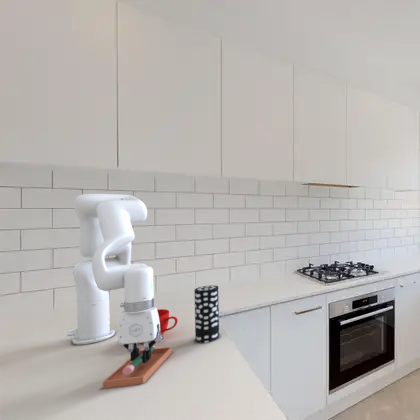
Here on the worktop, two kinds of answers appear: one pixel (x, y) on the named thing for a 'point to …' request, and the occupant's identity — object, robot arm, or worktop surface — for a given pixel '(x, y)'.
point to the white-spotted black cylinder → (206, 314)
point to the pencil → (135, 363)
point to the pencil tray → (138, 370)
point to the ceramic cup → (165, 320)
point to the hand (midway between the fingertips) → (141, 361)
